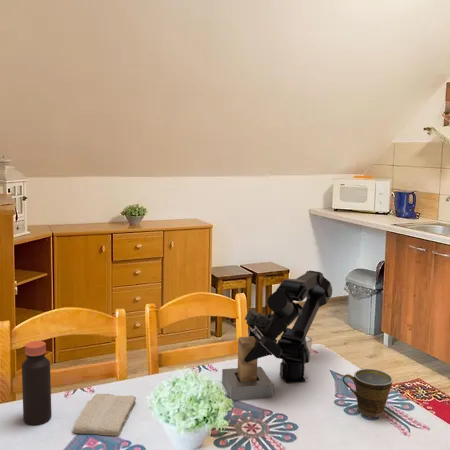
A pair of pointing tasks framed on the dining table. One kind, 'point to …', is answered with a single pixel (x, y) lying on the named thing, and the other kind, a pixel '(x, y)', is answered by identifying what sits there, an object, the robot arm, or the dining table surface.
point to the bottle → (36, 384)
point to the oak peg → (246, 369)
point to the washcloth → (104, 415)
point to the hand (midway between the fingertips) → (243, 357)
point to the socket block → (246, 385)
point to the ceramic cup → (371, 390)
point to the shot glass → (308, 343)
